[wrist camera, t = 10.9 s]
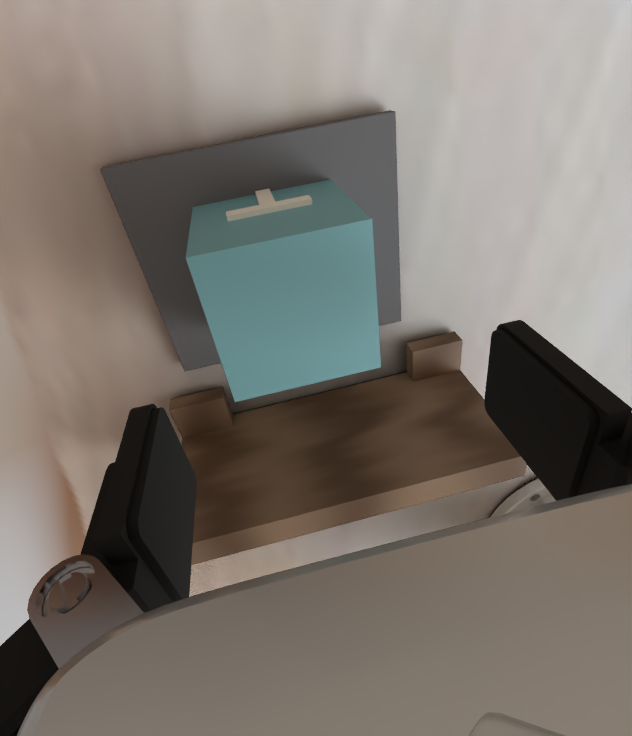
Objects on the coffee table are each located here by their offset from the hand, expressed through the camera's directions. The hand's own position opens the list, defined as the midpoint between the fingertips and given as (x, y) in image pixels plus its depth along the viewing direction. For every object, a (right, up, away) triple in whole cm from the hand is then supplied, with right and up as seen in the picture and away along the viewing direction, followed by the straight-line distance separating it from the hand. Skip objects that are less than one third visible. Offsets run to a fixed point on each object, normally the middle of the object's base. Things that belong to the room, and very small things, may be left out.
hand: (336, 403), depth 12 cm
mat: (-3, +7, +8) cm, 11 cm away
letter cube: (-2, +6, +8) cm, 10 cm away
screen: (0, -1, +14) cm, 14 cm away
